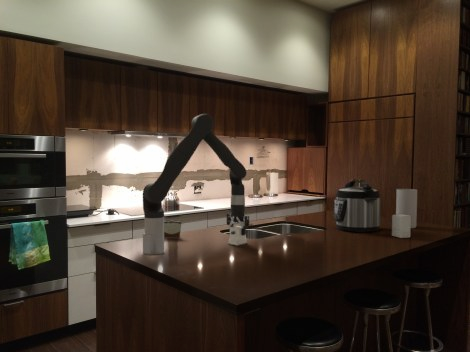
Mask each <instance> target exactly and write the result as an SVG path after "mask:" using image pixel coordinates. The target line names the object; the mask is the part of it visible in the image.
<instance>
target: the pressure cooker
mask: <svg viewBox="0 0 470 352" xmlns="http://www.w3.org/2000/svg"><path fill="white" fill-rule="evenodd" d="M356 183H359V184H360V185H361V186H354V185H355V184H356ZM335 195H336V196H335V198H334V204H333V218H334V220H335V224H336V225H335V226H336V227H337V228H338V229H339V230H342V231H347V232H353V233H365V232H367V233H368V232H376V231H378V230H379V227H380V226H381V194H380V191H379V190H377V189H374V188H373V187H372V185H371V184H369V183H367V182H365V181H364V180H360V179H354V180H353V179H352V180H351V181H348V182H346V183H345V186H344V187H343V188H339V189H337V193H336V194H335Z"/></svg>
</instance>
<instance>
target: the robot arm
mask: <svg viewBox="0 0 470 352" xmlns="http://www.w3.org/2000/svg"><path fill="white" fill-rule="evenodd" d="M213 127H214V118H213V117H212V116H211V115H210V114H208V113H201V114H199V115H196V116H195V117H193V118H192V120H191V129H190V131H189V132H188V134H187V135H186V136H185V137H184V138H183V139H182V140H181V141H179V143H178V144H177V145H175V147H174V149H173V150H172V151H171V152H170V154H169V156H168V157H167V158H166V161H165V164H164V167H163V170H162V171H161V174H160V175H159V176H158V177H157V179H156V180H155V181H154V182H151V183H150V182H149V183H148V184H146V185H145V186H144V187H143V190H142V208H143V214H144V215H143V216H144V218H143V219H144V232H143V233H142V253H143V254H145V255H147V256H148V255H149V256H152V255H153V256H154V255H161V254H164V253H165V238H164V220H165V212H164V209H163V203H162V202H163V201H164V200H165V199H166V197H167V195H168V194H169V191H170V189H171V188H172V186H173V184H174V182H175V181H176V180H177V178H178V177H179V176H180V174H181V173H182V171H183V170H184V168H186V166H187V164H188V163H189V161H190V160H191V158H192V157H193V155H194V154H195V152H196V150H197V149H198V147H199V145H200V144H201V142H202V141H204V142H205V143H206V144H207V145H208V146H209V147H210V149H211V150H212V152H214V153H215V155H216V156H217V158H218V159H219V160H220V161H221V163H222V164H223V165H224V166H225V167H226V168H228V169H229V173H228V174H229V181H230V188H231V189H230V212H231V213H227V214H226V225H227V226H229V228H230V227H233V226H235V224H236V223H237V224H239V226H241V227H242V235H245V234H246V235H247V228H249V227H250V216H249V215H245V212H246V196H245V188H246V187H245V185H244V183H243V179H245V178H246V176H247V169H246V167H245V166H244V164H242V163H241V161H239V160H238V159H237V157H235V155H234V153H233V152H232V151H231V149H230V148H229V147H228V146H227V145H226V144H225V143H224V142H223V141H222V140H221V139H219V138H218V136H216V134H215V133H214V132H213V130H212V129H213Z"/></svg>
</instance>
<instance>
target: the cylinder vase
mask: <svg viewBox="0 0 470 352" xmlns="http://www.w3.org/2000/svg"><path fill="white" fill-rule="evenodd" d="M395 197H396V201H395V202H396V206H395V207H396V208H395V215H397V214H403V215H409V216H411V227H410V229H415V228H417V214H418V213H417V212H418V211H417V209H418V189H414V188H412V189H411V188H396V196H395Z"/></svg>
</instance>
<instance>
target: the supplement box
mask: <svg viewBox="0 0 470 352" xmlns="http://www.w3.org/2000/svg"><path fill="white" fill-rule="evenodd" d="M391 220H392V221H391V236H393V237H396V238H400V239H403V238H411V228H410V227H411V216H409V215H403V214H397V215H396V214H392V215H391Z"/></svg>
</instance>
